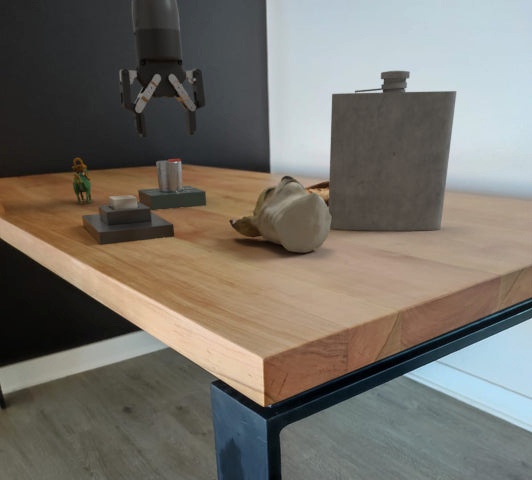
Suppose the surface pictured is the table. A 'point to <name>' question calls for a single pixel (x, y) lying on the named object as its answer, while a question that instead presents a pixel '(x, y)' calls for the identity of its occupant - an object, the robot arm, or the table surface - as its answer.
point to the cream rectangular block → (123, 202)
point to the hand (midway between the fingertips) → (166, 136)
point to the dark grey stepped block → (126, 225)
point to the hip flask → (389, 157)
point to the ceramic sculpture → (288, 217)
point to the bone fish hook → (320, 190)
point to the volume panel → (172, 198)
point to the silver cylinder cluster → (169, 175)
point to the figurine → (81, 181)
